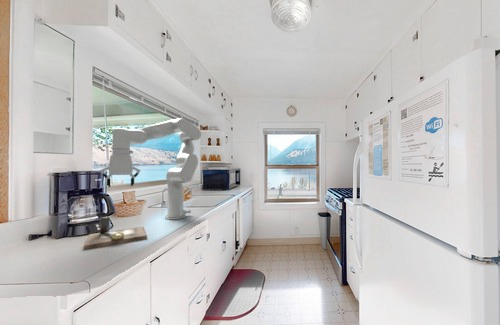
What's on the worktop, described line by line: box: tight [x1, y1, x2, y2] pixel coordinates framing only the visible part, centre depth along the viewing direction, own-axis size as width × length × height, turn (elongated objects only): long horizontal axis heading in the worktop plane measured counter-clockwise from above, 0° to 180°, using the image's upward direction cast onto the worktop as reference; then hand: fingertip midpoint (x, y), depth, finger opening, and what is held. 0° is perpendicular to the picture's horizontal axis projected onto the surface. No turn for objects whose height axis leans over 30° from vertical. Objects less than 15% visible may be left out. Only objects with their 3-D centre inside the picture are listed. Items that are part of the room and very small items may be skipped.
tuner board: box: [83, 226, 148, 250], centre depth 92 cm, size 22×16×2 cm
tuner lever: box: [99, 216, 124, 240], centre depth 90 cm, size 16×4×7 cm, turn 58°
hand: (120, 186), depth 103 cm, fingers open, 9 cm apart
